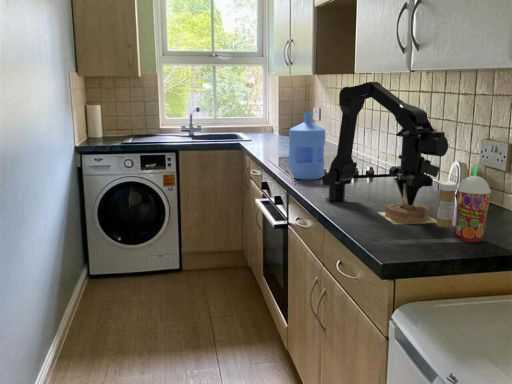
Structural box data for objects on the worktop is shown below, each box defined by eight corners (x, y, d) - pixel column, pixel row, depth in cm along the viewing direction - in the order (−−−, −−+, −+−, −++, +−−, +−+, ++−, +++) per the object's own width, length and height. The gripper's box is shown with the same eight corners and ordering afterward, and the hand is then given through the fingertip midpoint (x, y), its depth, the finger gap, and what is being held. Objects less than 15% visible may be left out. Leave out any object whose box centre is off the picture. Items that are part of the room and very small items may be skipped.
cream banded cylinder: (400, 208, 156) (401, 182, 155) (410, 208, 157) (412, 182, 155) (404, 211, 153) (406, 185, 151) (415, 210, 153) (416, 184, 152)
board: (376, 214, 162) (377, 211, 161) (419, 213, 163) (419, 210, 163) (393, 227, 148) (393, 224, 148) (439, 226, 149) (439, 222, 149)
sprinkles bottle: (440, 225, 150) (443, 180, 147) (455, 228, 147) (459, 182, 144) (433, 229, 146) (436, 183, 144) (448, 232, 143) (452, 185, 141)
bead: (381, 212, 161) (381, 203, 160) (418, 211, 162) (418, 202, 161) (395, 223, 149) (396, 213, 148) (435, 221, 150) (435, 212, 149)
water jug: (281, 175, 228) (282, 112, 222) (311, 172, 235) (313, 111, 229) (300, 181, 214) (301, 114, 208) (331, 178, 221) (333, 113, 215)
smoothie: (452, 242, 135) (458, 167, 130) (452, 233, 142) (458, 162, 138) (486, 245, 132) (494, 169, 128) (485, 236, 139) (492, 164, 135)
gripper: (452, 156, 143) (448, 211, 146) (424, 148, 161) (420, 196, 164) (414, 157, 142) (410, 212, 145) (389, 148, 160) (387, 197, 163)
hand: (407, 203), depth 154 cm, fingers closed on cream banded cylinder, 3 cm apart
